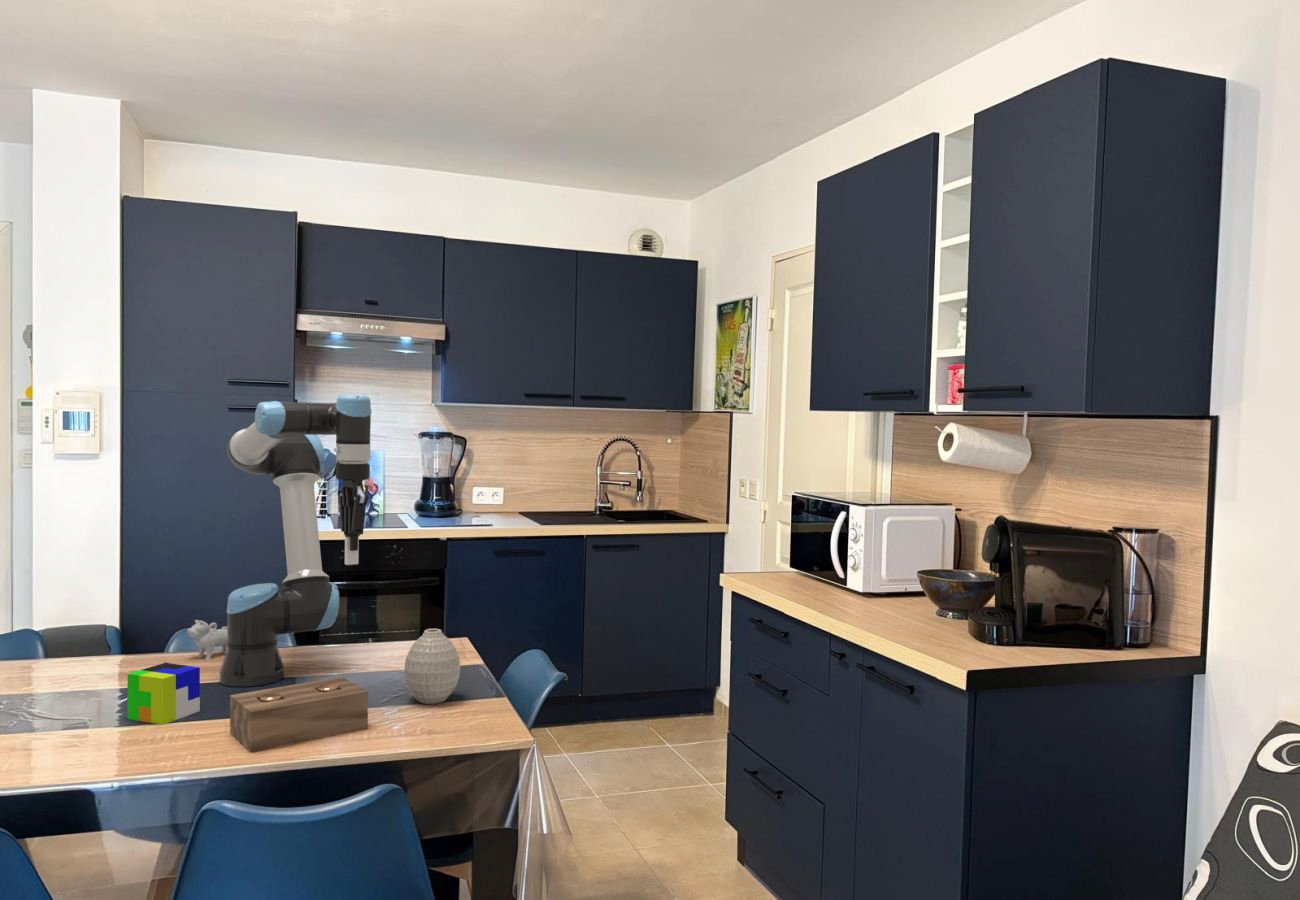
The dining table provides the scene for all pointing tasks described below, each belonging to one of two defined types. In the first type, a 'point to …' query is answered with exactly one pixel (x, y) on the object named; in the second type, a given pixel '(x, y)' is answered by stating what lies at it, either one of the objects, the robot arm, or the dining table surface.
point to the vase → (432, 667)
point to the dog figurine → (208, 637)
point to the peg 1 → (270, 698)
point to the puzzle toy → (163, 693)
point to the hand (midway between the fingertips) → (351, 563)
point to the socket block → (297, 713)
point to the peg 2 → (327, 688)
